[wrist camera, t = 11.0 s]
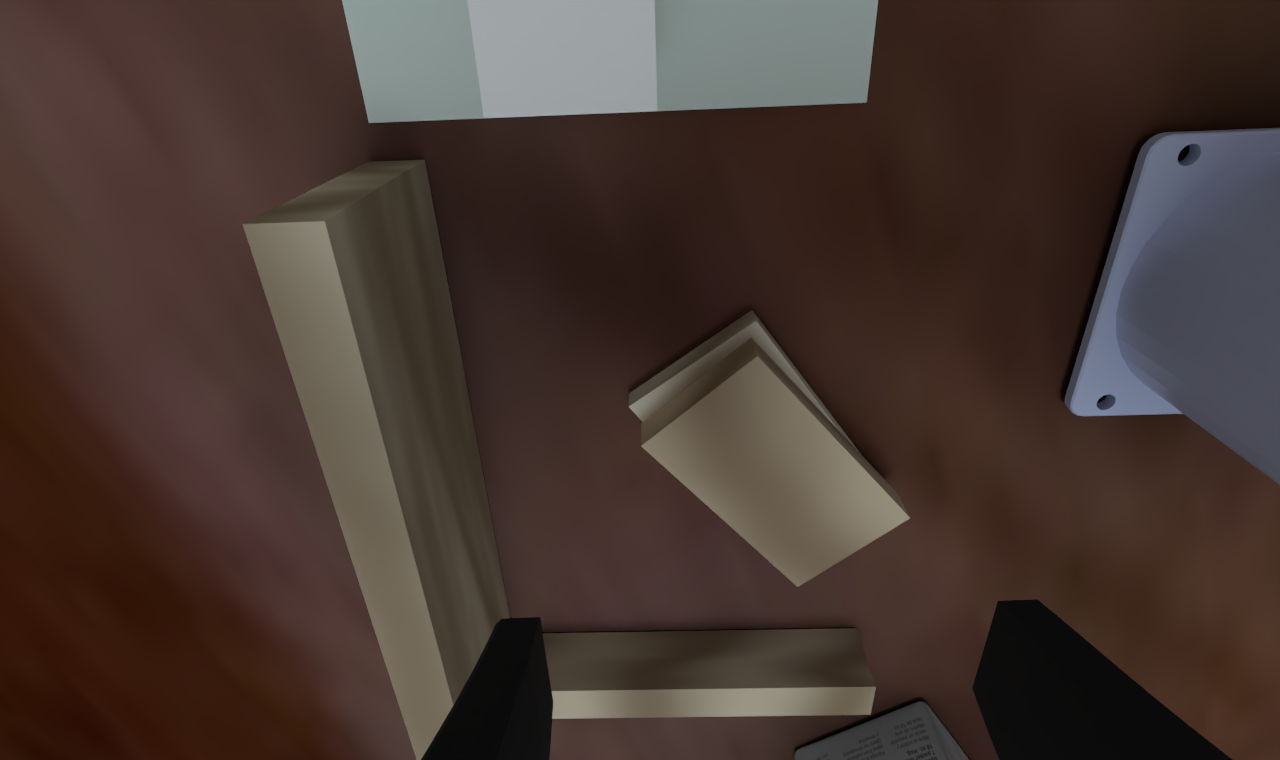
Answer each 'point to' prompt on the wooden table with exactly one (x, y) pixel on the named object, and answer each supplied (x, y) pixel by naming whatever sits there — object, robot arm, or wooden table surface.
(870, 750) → the coffee box
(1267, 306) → the robot arm
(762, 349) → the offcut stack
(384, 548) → the corner fence
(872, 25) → the mat
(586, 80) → the gray rectangular slab
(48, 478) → the wooden table surface
